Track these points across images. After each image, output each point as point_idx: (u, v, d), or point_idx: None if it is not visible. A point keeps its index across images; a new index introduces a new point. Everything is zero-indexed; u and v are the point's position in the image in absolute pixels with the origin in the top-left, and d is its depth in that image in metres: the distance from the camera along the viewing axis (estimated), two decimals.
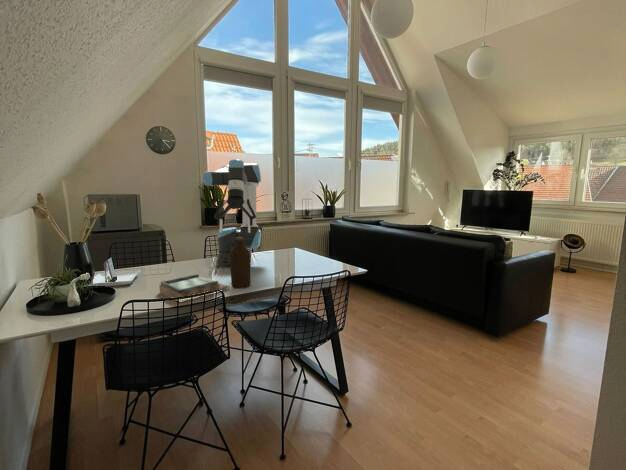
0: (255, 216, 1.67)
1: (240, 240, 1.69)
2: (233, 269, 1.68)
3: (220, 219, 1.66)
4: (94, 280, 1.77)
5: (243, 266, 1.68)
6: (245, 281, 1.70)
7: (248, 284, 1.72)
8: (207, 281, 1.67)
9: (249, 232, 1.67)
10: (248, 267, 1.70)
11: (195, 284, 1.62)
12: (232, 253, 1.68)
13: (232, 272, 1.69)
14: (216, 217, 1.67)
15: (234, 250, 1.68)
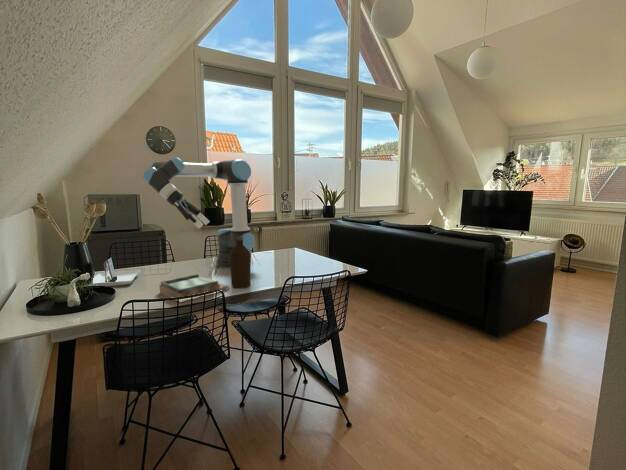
0: None
1: (240, 240, 1.69)
2: (233, 269, 1.68)
3: (197, 216, 1.76)
4: (94, 280, 1.77)
5: (243, 266, 1.68)
6: (245, 281, 1.70)
7: (248, 284, 1.72)
8: (207, 281, 1.67)
9: (201, 226, 1.63)
10: (248, 267, 1.70)
11: (195, 284, 1.62)
12: (232, 253, 1.68)
13: (232, 272, 1.69)
14: None
15: (234, 250, 1.68)
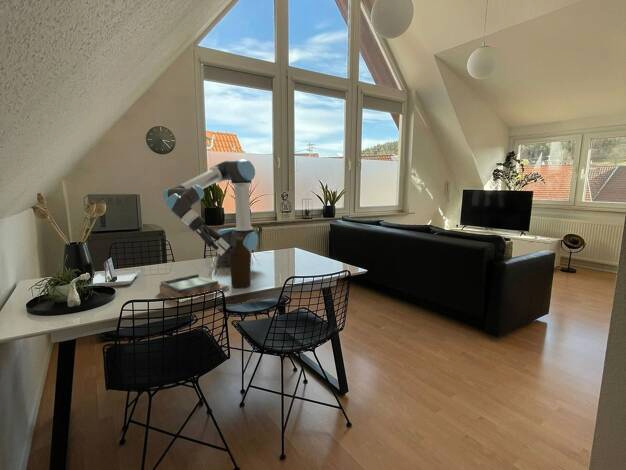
0: None
1: (240, 240, 1.69)
2: (233, 269, 1.68)
3: (217, 241, 1.76)
4: (94, 280, 1.77)
5: (243, 266, 1.68)
6: (245, 281, 1.70)
7: (248, 284, 1.72)
8: (207, 281, 1.67)
9: (223, 252, 1.63)
10: (248, 267, 1.70)
11: (195, 284, 1.62)
12: (232, 253, 1.68)
13: (232, 272, 1.69)
14: None
15: (234, 250, 1.68)
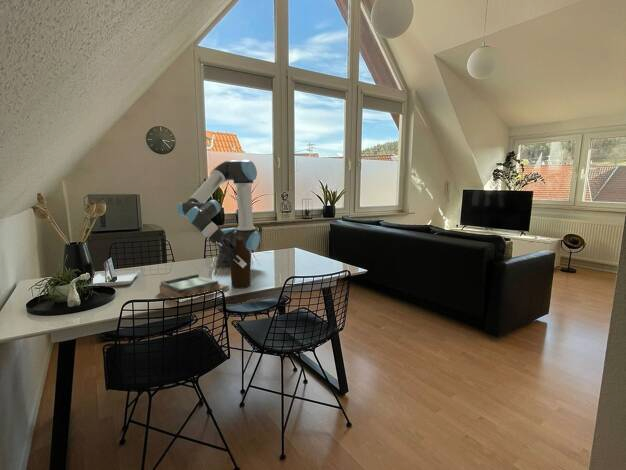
0: (230, 258, 1.63)
1: (240, 240, 1.69)
2: (233, 269, 1.68)
3: None
4: (94, 280, 1.77)
5: None
6: (246, 281, 1.70)
7: (248, 284, 1.72)
8: (207, 281, 1.67)
9: (245, 265, 1.67)
10: (248, 267, 1.70)
11: (195, 284, 1.62)
12: None
13: (232, 272, 1.69)
14: None
15: (234, 250, 1.68)
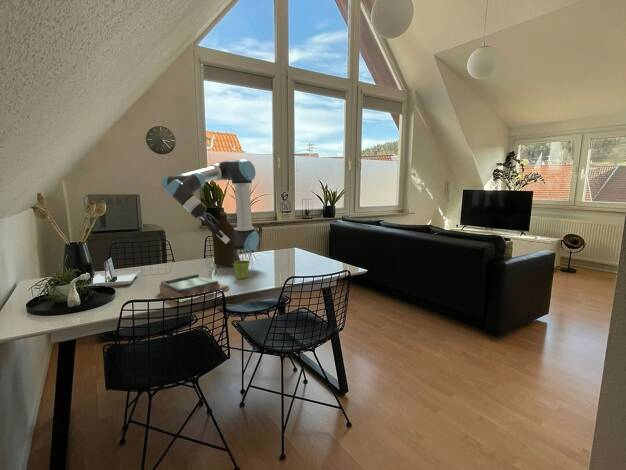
0: None
1: (223, 215, 1.63)
2: (216, 245, 1.62)
3: None
4: (94, 280, 1.77)
5: None
6: (229, 258, 1.64)
7: (231, 261, 1.65)
8: (207, 281, 1.67)
9: None
10: (232, 243, 1.64)
11: (195, 284, 1.62)
12: None
13: (215, 248, 1.63)
14: None
15: (217, 225, 1.62)
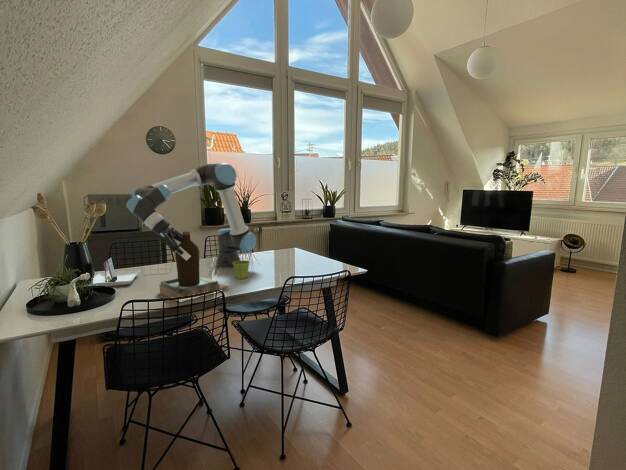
0: None
1: (186, 235, 1.58)
2: (179, 266, 1.57)
3: None
4: (94, 280, 1.77)
5: (189, 263, 1.57)
6: (193, 279, 1.59)
7: (196, 282, 1.60)
8: (207, 281, 1.67)
9: (189, 257, 1.54)
10: (195, 264, 1.59)
11: None
12: None
13: (178, 269, 1.58)
14: None
15: (180, 246, 1.57)
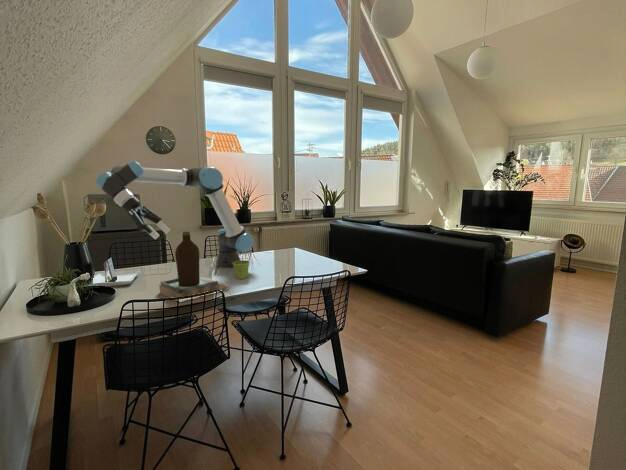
0: (139, 228, 1.48)
1: (186, 235, 1.58)
2: (179, 266, 1.57)
3: (156, 224, 1.65)
4: (94, 280, 1.77)
5: (189, 263, 1.57)
6: (193, 279, 1.59)
7: (196, 282, 1.60)
8: (207, 281, 1.67)
9: (158, 236, 1.53)
10: (195, 264, 1.59)
11: None
12: (177, 249, 1.56)
13: (178, 269, 1.58)
14: None
15: (180, 246, 1.57)
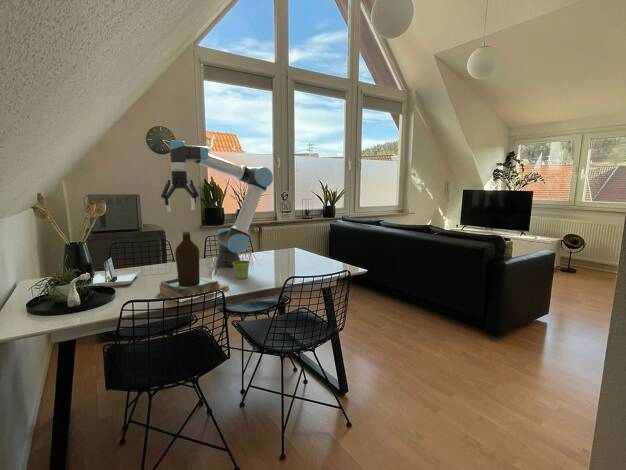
0: (161, 197, 1.78)
1: (187, 235, 1.58)
2: (179, 266, 1.57)
3: (191, 198, 1.90)
4: (94, 280, 1.77)
5: (189, 263, 1.57)
6: (193, 279, 1.59)
7: (196, 282, 1.60)
8: (207, 281, 1.67)
9: (169, 211, 1.80)
10: (195, 264, 1.59)
11: None
12: (177, 249, 1.56)
13: (178, 269, 1.58)
14: None
15: (180, 246, 1.57)
